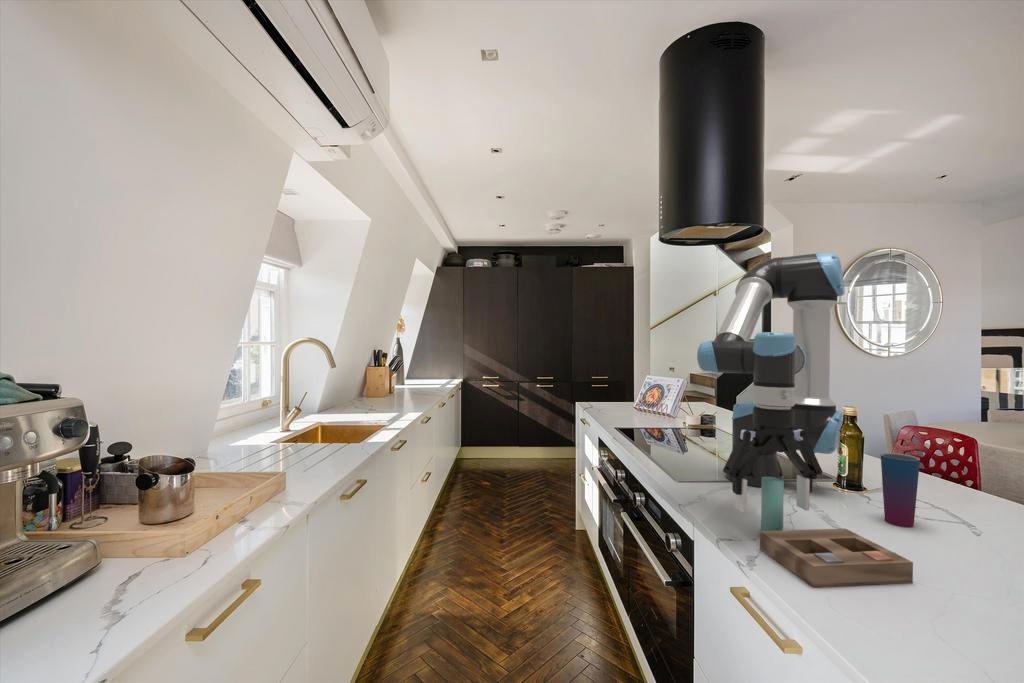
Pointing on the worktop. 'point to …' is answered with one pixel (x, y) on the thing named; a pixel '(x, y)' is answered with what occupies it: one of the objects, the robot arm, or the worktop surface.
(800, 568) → the socket board
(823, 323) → the robot arm
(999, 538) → the worktop surface
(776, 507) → the plug
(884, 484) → the cup
